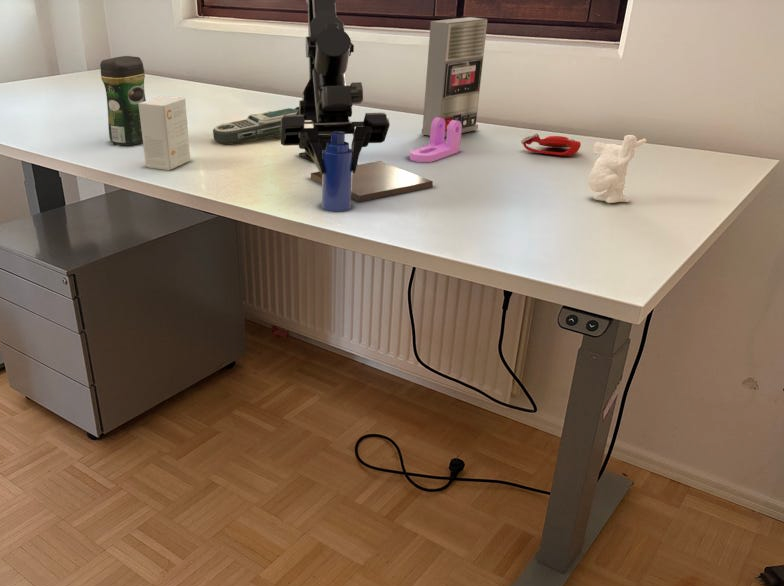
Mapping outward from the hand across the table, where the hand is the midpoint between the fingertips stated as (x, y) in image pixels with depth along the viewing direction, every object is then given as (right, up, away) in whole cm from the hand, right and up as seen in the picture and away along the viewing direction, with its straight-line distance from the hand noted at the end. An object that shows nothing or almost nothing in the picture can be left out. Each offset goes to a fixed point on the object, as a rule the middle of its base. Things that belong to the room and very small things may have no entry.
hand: (338, 172), depth 128 cm
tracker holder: (+48, +14, +37) cm, 62 cm away
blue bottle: (0, -5, +5) cm, 7 cm away
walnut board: (+7, +2, +17) cm, 18 cm away
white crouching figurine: (+49, -3, +7) cm, 50 cm away
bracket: (+22, +12, +35) cm, 43 cm away
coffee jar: (-47, +19, +46) cm, 68 cm away
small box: (-35, +9, +29) cm, 46 cm away
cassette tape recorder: (+30, +23, +52) cm, 64 cm away
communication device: (-16, +21, +50) cm, 56 cm away
